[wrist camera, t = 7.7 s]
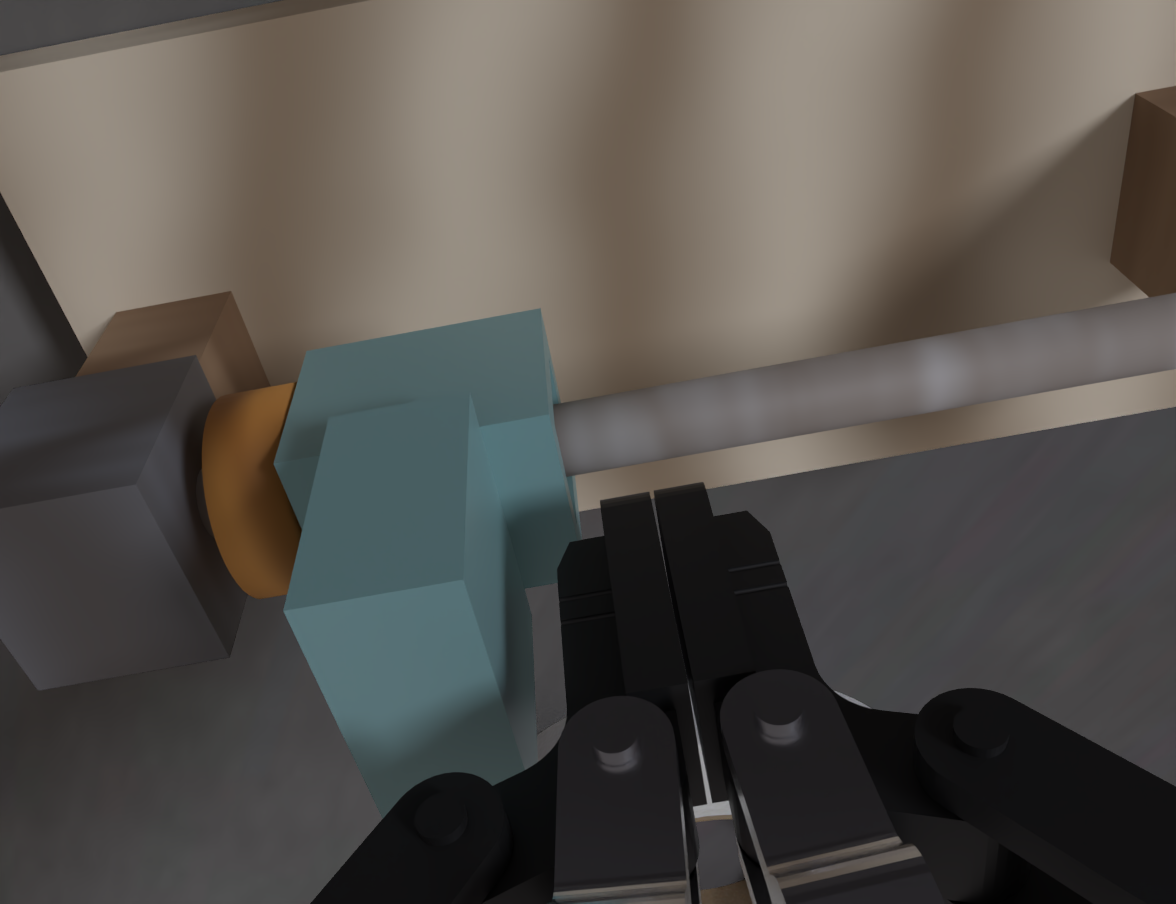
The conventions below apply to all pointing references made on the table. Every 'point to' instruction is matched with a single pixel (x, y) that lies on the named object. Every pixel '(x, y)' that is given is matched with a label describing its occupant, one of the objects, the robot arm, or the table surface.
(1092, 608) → the table surface
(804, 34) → the cable board
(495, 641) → the teal stepped block
